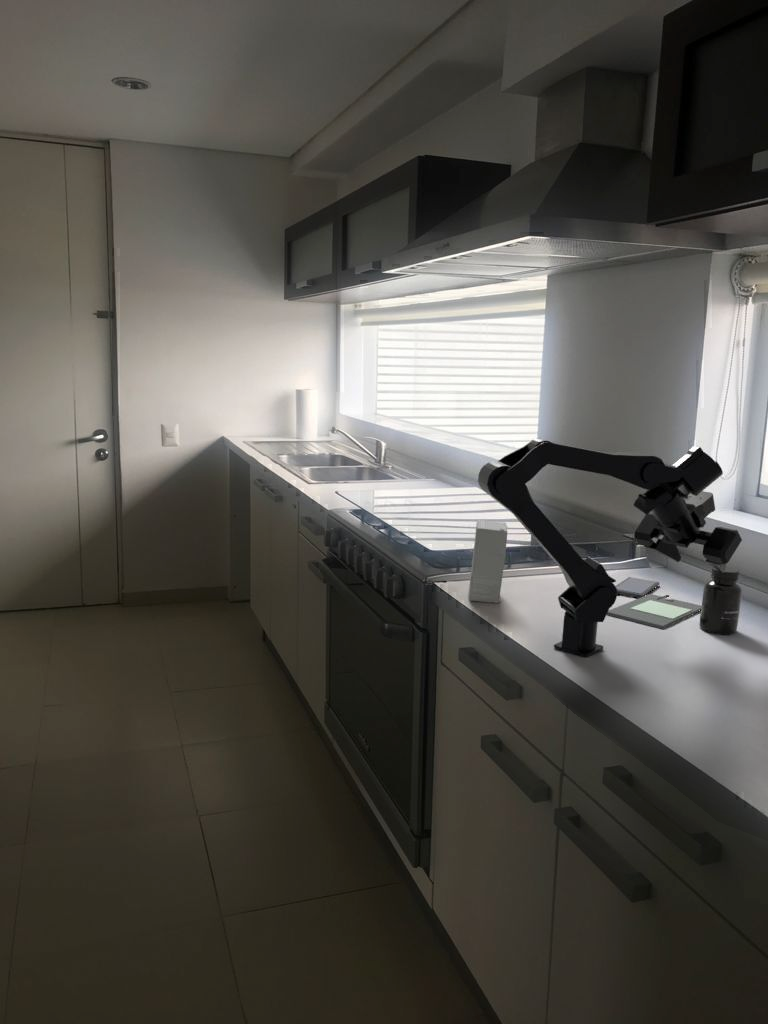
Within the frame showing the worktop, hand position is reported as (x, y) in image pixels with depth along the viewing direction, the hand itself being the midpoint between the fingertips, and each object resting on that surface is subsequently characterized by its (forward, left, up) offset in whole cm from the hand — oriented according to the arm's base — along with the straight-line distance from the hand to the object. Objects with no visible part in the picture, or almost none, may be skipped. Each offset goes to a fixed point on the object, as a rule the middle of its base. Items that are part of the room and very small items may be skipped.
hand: (701, 565), depth 158 cm
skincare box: (-9, +41, -14) cm, 44 cm away
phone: (+23, +23, -14) cm, 35 cm away
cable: (+19, +19, -14) cm, 30 cm away
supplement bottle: (+8, -2, -14) cm, 16 cm away
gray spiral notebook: (+10, +12, -14) cm, 21 cm away
